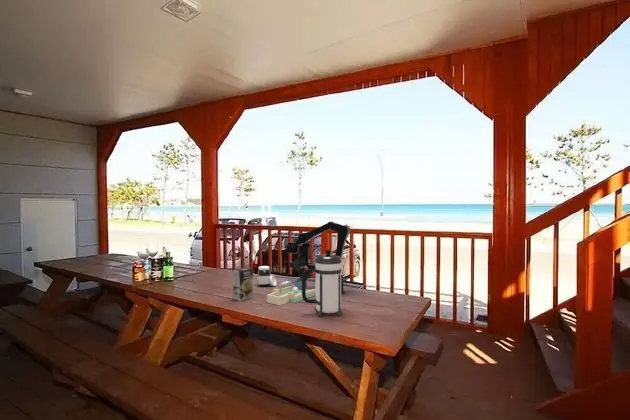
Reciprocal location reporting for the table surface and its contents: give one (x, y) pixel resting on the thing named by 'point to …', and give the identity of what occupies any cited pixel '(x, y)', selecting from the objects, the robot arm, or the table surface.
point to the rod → (296, 282)
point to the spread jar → (265, 277)
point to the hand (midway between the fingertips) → (304, 280)
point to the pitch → (288, 295)
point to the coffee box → (242, 284)
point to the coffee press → (326, 283)
